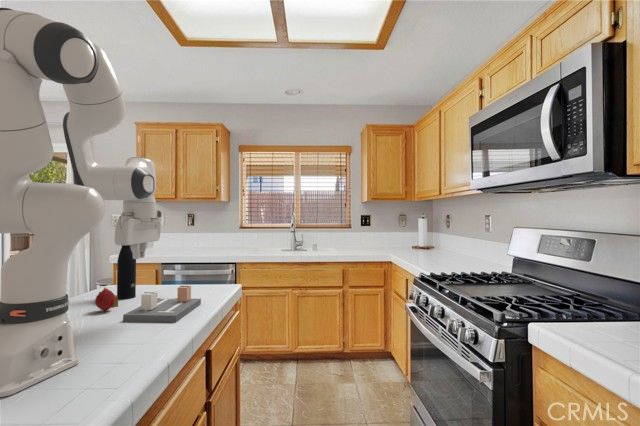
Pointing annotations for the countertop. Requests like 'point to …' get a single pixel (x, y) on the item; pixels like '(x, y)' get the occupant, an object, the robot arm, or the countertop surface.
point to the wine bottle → (126, 274)
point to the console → (163, 311)
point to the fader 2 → (184, 293)
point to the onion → (105, 299)
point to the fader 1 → (148, 300)
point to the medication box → (115, 302)
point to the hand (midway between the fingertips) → (138, 258)
